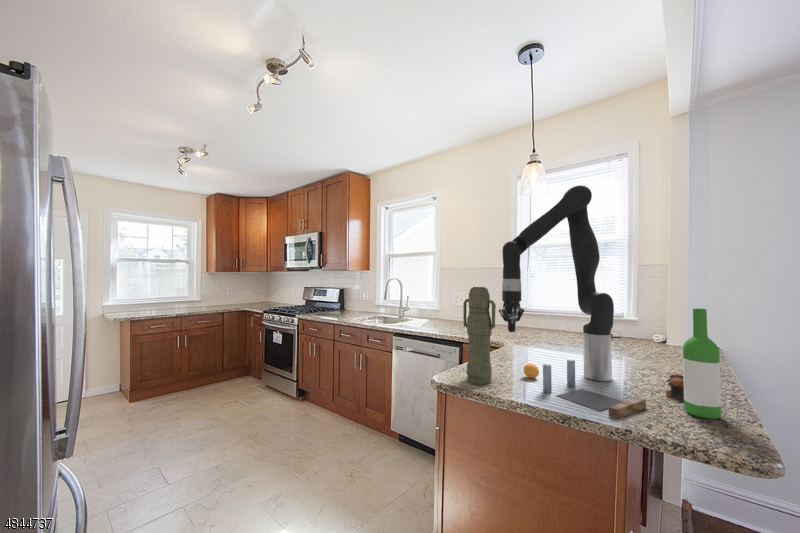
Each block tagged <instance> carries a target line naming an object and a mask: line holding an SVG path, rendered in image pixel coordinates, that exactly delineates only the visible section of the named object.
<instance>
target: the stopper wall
mask: <svg viewBox="0 0 800 533" xmlns="http://www.w3.org/2000/svg"><path fill="white" fill-rule="evenodd" d="M644 409H647V399H646V398H642V397H636V398H632V399H629V400H627V401H626V400H625V401H623V403H620V404H617V405H614V406H611V407H609V409H608V417H610V418H613V419H616V420H617V419H620V418H622V417H625V416H628V415H631V414H634V413H636V412H639V411H641V410H644Z"/></svg>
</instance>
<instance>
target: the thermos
mask: <svg viewBox="0 0 800 533" xmlns="http://www.w3.org/2000/svg"><path fill="white" fill-rule="evenodd" d="M490 298H491V297H490V292H489V290H488V288H486V287H484V286H473V287H471V288H470V289H469V293H468V298H466V299H465V300H463V326H464V327H465V328H466V334H467V337H468V339H467V340H468V342H467V343H468V346H467V348H468V352H467V354H468V355H467V357H468V359H467V360H468V361H467V363H466V375H467V380H466V381H467V383H469V384H471V385H475V386H482V387H483V386H490V385H491V383H492V374H493V373H492V372H493V369H492V367H493V366H492V363H491V336H492V330H493V329H494V328H495V327H496V310H497V308H496V303H495V301H494V300H492V299H490ZM467 303H468V309H469V310H468V316H467ZM490 304H491V305H490ZM490 308H491V312H490ZM490 313H491V314H490ZM490 315H491V316H490Z"/></svg>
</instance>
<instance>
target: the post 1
mask: <svg viewBox="0 0 800 533" xmlns="http://www.w3.org/2000/svg"><path fill="white" fill-rule="evenodd" d="M542 392H544V393H545V394H552V364H549V363H543V364H542Z"/></svg>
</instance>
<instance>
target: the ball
mask: <svg viewBox="0 0 800 533" xmlns="http://www.w3.org/2000/svg"><path fill="white" fill-rule="evenodd" d="M523 373H524V375H525V376H526V377H527V378H530V379H536V378H537V377H538V376H539V374H540V371H539V367H538V366H537V365H536V364H534V363H527V364H526V365H524V367H523Z"/></svg>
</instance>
